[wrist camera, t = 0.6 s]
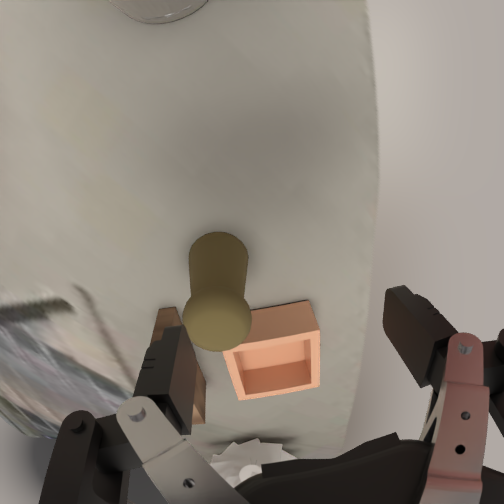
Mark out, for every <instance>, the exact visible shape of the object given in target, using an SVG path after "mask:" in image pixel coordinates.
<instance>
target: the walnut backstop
mask: <svg viewBox="0 0 504 504" xmlns="http://www.w3.org/2000/svg"><path fill="white" fill-rule="evenodd" d="M177 325H182V323H181V321H180V318H179V315H178V313H177V310H176V307H171V308H164V309H159V311H158V315H157V319H156V322H155V326H154V330H153V335H152V339H151V343H150V345H151V344H152V343H153V342H154V341H157V340H161V338H162V335H163V331H164V328H165V327H168V326H177ZM196 361H197V360H196ZM205 399H206V381H205V379H204V377H203V375H202V372H201V370H200V368H199V365H198V363H197V373H196V383H195V394H194V405H193V416H192V424H205Z"/></svg>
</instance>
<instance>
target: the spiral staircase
mask: <svg viewBox="0 0 504 504" xmlns="http://www.w3.org/2000/svg"><path fill="white" fill-rule="evenodd" d="M293 459H298V458H296V457H294V456H292V455H291V454H289V453H287V452H285V451H283V450H282V444H275V443H260V441H259V439H258V438H256V439H254V440H251V441H248V442H245V443H242V444H240V445H238V444H236V443H235V442H232V443H231V445H230V446H229V447H228V448H227V449H226V450H225V451H224V452H223V453H222V454H221V455H216V454H213V457H212V461H211V463H209V464H210V465H211V467H212V468H213V469H214V470H215V471H216V472H217V473H218V474H219V475H220V476H221V477H222V478H223V479H224V480H225V481H226V482H227V483H228V484H230V485H231V486H232V487H233V488H234V487H235V486H237V485H238V484H240V483H241V482H243V481H244V480H246V479H248V478H250V477H252V476H254V475H256V474H259V473H262V470H261V464H267V463H274V462H281V461H287V460H293Z"/></svg>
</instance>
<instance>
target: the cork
mask: <svg viewBox="0 0 504 504" xmlns="http://www.w3.org/2000/svg"><path fill="white" fill-rule="evenodd" d="M247 266H248V253H247V249H246V247H245V246H244V244H243V243H242V242H241V241H240V240H239V239H238V238H236V237H235V236H233V235H230V234H228V233H225V232H213V233H209V234H205V235H204V236H202V237H200V238H199V239H197V240H196V242H195V243H194V244H193V245H192V247H191V249H190V252H189V273H190V288H191V297H190V298H189V300H188V301H187V303H186V305H185V308H184V311H183V316H182V317H183V325H184V326H185V327H186V329H187V332H188V335H189V338H190V340H191V341H192V342H193V343H194V344H195V345H197V346H198V347H200V348H202V349H205V350H209V351H216V352H222V351H227V350H231V349H233V348H235V347H237V346H238V345H240V344H241V343H242V342H243V341H244V340H245V339H246V337H247V336H248V334H249V332H250V329H251V323H252V315H251V311H250V308H249V305H248V303H247V302H246V300H245V299H244V292H245V283H246V274H247Z"/></svg>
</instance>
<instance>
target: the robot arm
mask: <svg viewBox="0 0 504 504" xmlns="http://www.w3.org/2000/svg"><path fill="white" fill-rule="evenodd" d="M108 1H110V2H111V3H112V4H113V5H115V6H116V7H117V8H118V9H120V10H121V11H122V12H124V13H125V14H126V15H128V16H129V17H130V18H132V19H134V20H137V21H139V22H144V23H149V24H160V23H166V22H172V21H175V20H178V19H181V18H184V17H186V16H188V15H190V14H192V13H193V12H195V11H196V10H197V9H199V8H200V7H202V6H203V5H204V4H205V3H206V2H207V1H208V0H108ZM383 328H384V331H385V333H386V335H387V337H388V338H389V340H390V341H391V343H392V344H393V346H394V347H395V349H396V350H397V352H398V353H399V355H400V356H401V358H402V360H403V361H404V363H405V364H406V366H407V367H408V369H409V371H410V372H411V374H412V375H413V377H414V379H415V380H416V382H417V383H418V385H419V386H420V388H422V387H425V386H428V385H430V384H431V385H432V387H433V389H432V392H431V396H430V400H429V405H428V410H427V413H426V418H425V422H424V426H423V430H422V433H421V435H420V438H419V440H410V439H408V440H399V438H398V435H397V433H396V432H395V433H392V434H389V435H386V436H383V437H380V438H377V439H374V440H371V441H367V442H365V443H363V444H361V445H359V446H358V447H356V448H354V449H352V450H350V451H348V452H346V453H344V454H342V455H340V456H338V457H336V458H333V459H293V460H287V461H281V462H274V463H267V464H261V470H262V473H259V474H256V475H254V476H252V477H250V478H248V479H246V480H244V481H243V482H241V483H240V484H238V485H237V486H235V487H234V488H233V487H232V486H231V485H230V484H228V483H227V482H226V481H225V480H224V479H223V478H222V477H221V476H220V475H219V474H218V473H217V472H216V471H215V470H214V469H213V468H212V467H211V465H210V464H209V463H208V462H207V461H206V460H205V459H204V458H203V457H202V456H201V455H200V454H199V453H198V452H197V451H196V449H195V448H194V447H193V446H192V445H191V444H190V443H189V442H188V441H187V440H186V439H183V438H182V436H181V435H191V428H192V416H193V405H194V394H195V383H196V373H197V361H196V356H195V353H194V350H193V347H192V344H191V341H190V338H189V335H188V332H187V329H186V327H185V326H184V325H177V326H168V327H165V328H164V331H163V335H162V338H161V340H157V341H154V342H153V343H152V344H151V345H150V347H149V348H148V349H147V351H146V354H145V357H144V361H143V364H142V367H141V368H142V369H141V370H140V373H139V377H138V380H137V384H136V387H135V391H134V394H133V397H132V398H130V399H128V400H126V401H125V402H123V403H122V404H121V405H120V407H119V408H118V410H117V413H116V414H114V415H110V416H106V417H102V418H98V419H95V418H94V416H93V415H92V414H91V413H90V412H88V411H84V410H79V411H75V412H73V413H71V414H69V415H68V416H67V417H66V418H65V419H64V421H63V422H62V425H61V428H60V431H59V434H58V437H57V440H56V443H55V446H54V449H53V453H52V456H51V459H50V462H49V466H48V469H47V473H46V477H45V481H44V485H43V488H42V492H41V496H40V500H39V504H127V496H128V486H129V477H130V470H131V469H135V468H140V467H143V468H144V469H145V471H146V473H147V474H148V475H149V477H150V478H151V479H152V481H153V483H154V484H155V485H156V487H157V488H158V490H159V491H160V492H161V493H162V495H163V496H164V498H165V499H166V500H167V501H168V503H169V504H504V473H501V472H499V471H496V470H493V469H491V468H488V467H486V466H483V459H484V452H485V445H486V436H487V426H488V413H490V415H491V416H492V418H493V419H494V421H495V423H496V425H497V426H498V428H499V430H500V432H501V434H502V435H503V437H504V329H502V330H501V331H500V333H499V335H498V338H497V340H494V341H486V342H481V340H480V339H479V338H478V337H476V336H475V335H473V334H470V333H464V332H463V333H458V331H457V330H456V329H455V328H454V327H453V326H452V325H451V324H450V323H449V322H448V321H447V320H446V319H445V317H444V316H443V315H442V314H440V313H439V311H438V310H437V309H436V308H434V306H433V305H432V304H431V303H430V302H429V301H428V300H427V299H426V298H424V297H422V296H420V295H418V294H415V295H414V294H413V293H412V292H411V291H410V290H409V289H408V288H407V287H406V286H405V285H402V286H397V287H393V288H389V289H387V290H386V293H385V302H384V312H383Z"/></svg>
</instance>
